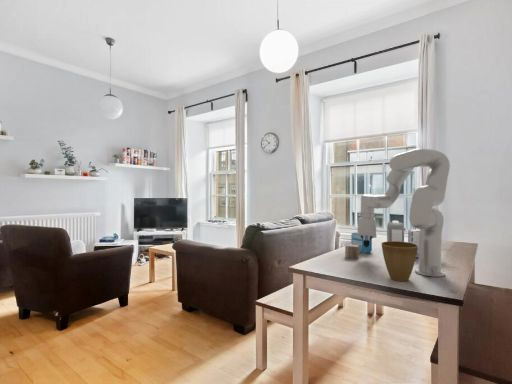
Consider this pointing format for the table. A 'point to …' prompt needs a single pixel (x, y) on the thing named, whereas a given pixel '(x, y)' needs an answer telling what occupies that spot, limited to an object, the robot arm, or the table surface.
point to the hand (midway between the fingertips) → (366, 246)
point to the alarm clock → (395, 231)
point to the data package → (361, 243)
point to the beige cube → (352, 251)
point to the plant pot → (399, 259)
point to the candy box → (414, 239)
